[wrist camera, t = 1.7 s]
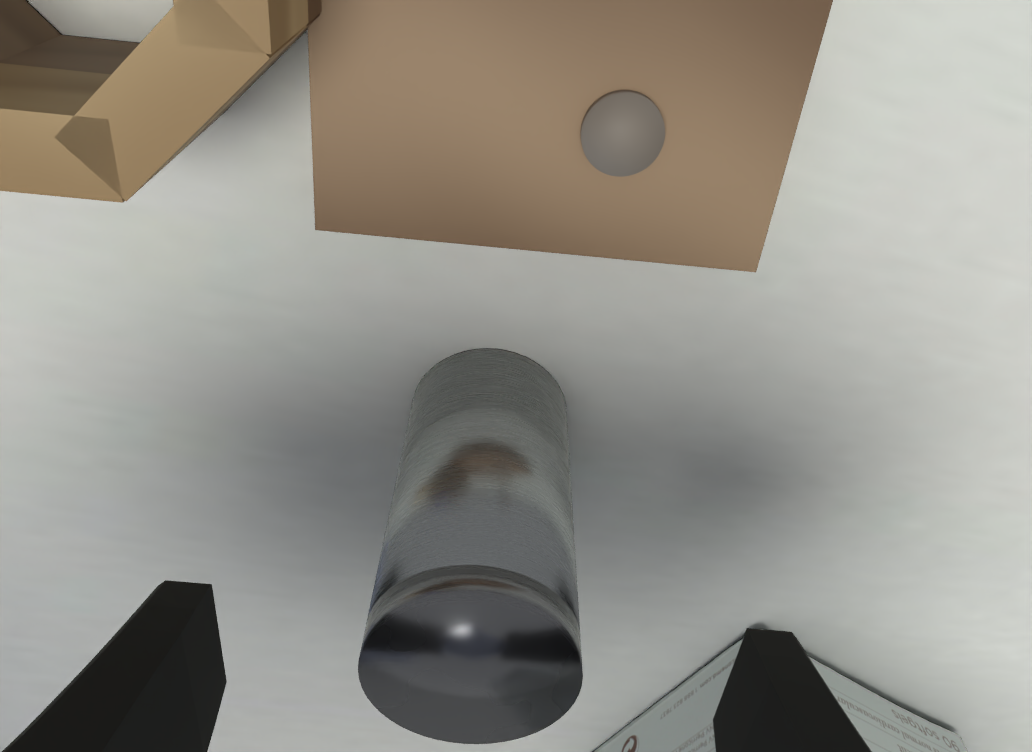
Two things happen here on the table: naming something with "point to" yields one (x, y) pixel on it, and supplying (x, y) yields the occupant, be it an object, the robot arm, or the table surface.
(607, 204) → the hinge plate
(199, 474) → the table surface
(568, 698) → the grey cylinder
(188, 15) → the hinge leaf
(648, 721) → the supplement box
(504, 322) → the table surface
